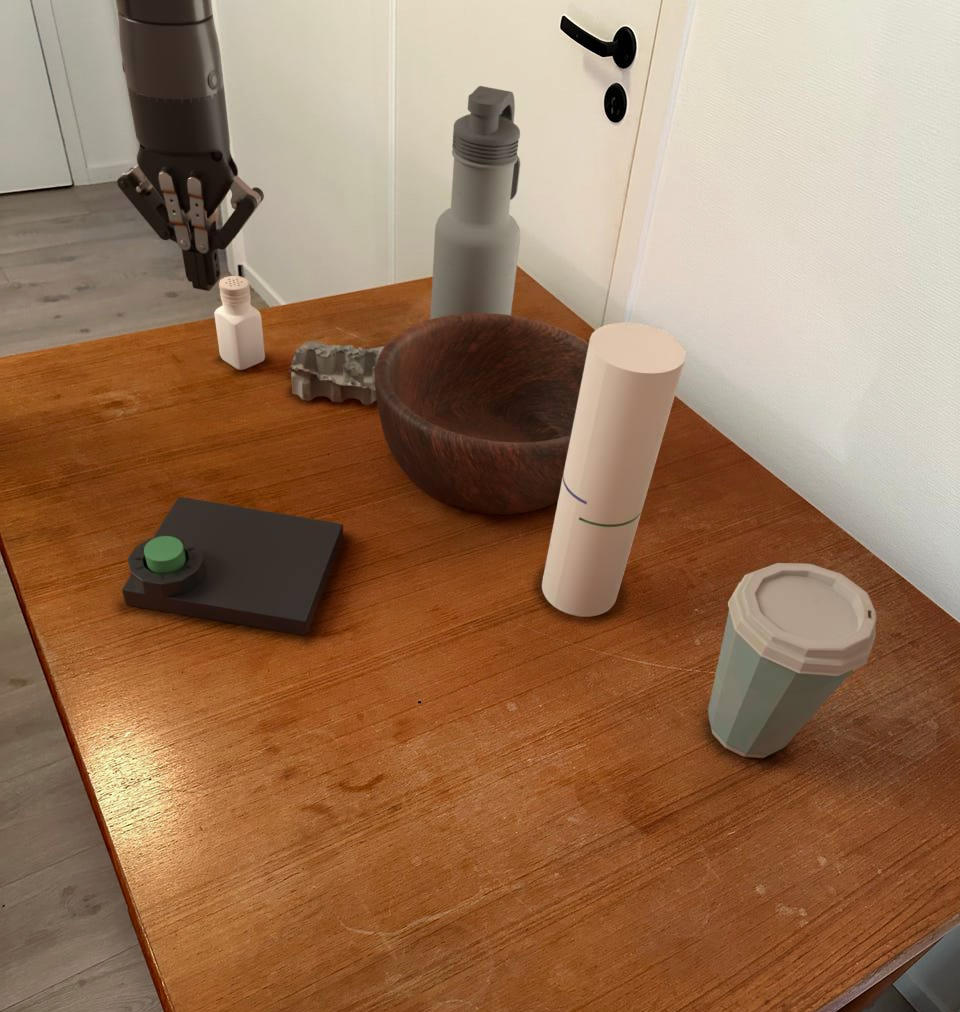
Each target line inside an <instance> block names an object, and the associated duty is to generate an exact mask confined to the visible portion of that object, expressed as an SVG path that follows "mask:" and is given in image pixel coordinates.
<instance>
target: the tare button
mask: <svg viewBox="0 0 960 1012" xmlns="http://www.w3.org/2000/svg"><path fill="white" fill-rule="evenodd" d="M144 554H145V558H146V562H147V566H148V568H149V569H150V570H151V571H153V572H155V573H158V574H168V573H174V572H176V571H178V570H180V569H181V568H182V567H183V566H184V564H185V562H186V557H185V553H184V548H183V544H182V542H181V541H180V540H179V539H177V538H175V537H171V536H161V537H157V538H154V539H152V540H151V541H149V542H148V543H147V544H146V545H145V548H144Z"/></svg>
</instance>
